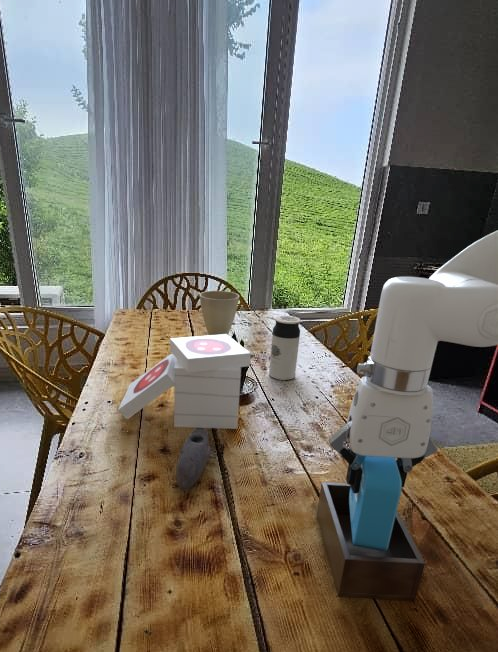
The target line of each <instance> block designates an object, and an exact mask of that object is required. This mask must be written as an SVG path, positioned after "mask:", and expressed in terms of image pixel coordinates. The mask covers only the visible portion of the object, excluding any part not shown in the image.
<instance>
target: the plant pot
mask: <svg viewBox="0 0 498 652" xmlns="http://www.w3.org/2000/svg"><path fill="white" fill-rule="evenodd" d="M239 301H240V294H238V293H236V292H234V291H228V290H205V291H203V292H200V293H199V303H200V309H201V314H202V315H201V316H202V318H203V322H204V327H205V330H206V332H207V335H219V334H227V335H229V334H230V331H231V328H232V327H233V323H234V320H235V317H236V314H237V309H238V304H239Z"/></svg>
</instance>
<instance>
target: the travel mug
mask: <svg viewBox="0 0 498 652" xmlns="http://www.w3.org/2000/svg"><path fill="white" fill-rule="evenodd" d="M274 320H275V325H274V326H273V328H272V336H271V347H270V356H269V370H268V375H269V376H270V377H271V378H273V379H275V380H280V381H287V380H288V381H289V380H292V379H294V378H296V371H297V363H298V362H297V361H298V355H299V345H300V336H301V329H300V326H299V325H300V323H301V318H299V317H298V316H293V315H278V316H275V317H274Z"/></svg>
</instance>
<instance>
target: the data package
mask: <svg viewBox="0 0 498 652" xmlns="http://www.w3.org/2000/svg"><path fill="white" fill-rule="evenodd" d="M396 460H397V458H390V457H372V456H366V457H365V459H364V461H363V462H362V464H361V468H362V470H363V472H362V478H361V483H360V488H359V493H353V491H352V489H351V488H350V494H349V507H350V519H351V530H352V542H353V545H354V546H359V547H365V548H370V549H376V550H381V551H386V550H387V549H388V546H389V542H390V538H391V533H392V529H393V525H394V521H395V517H396V512H397V510H398V507H399V505H400V500H401V495H402V488H403V487H402V481H401V477H400V473H399V470H398V466H397V462H396Z"/></svg>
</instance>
